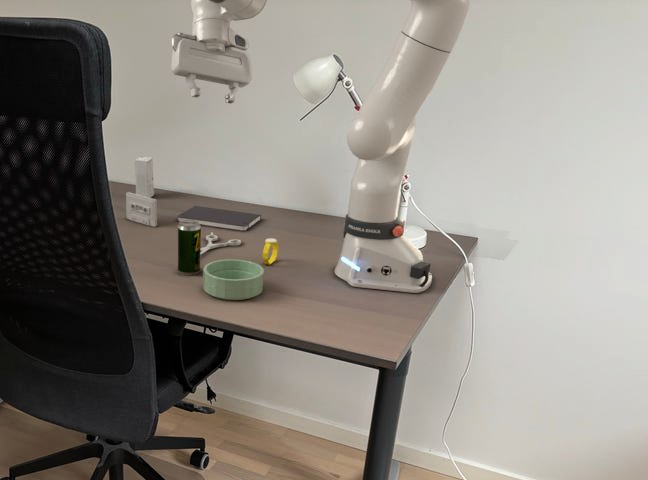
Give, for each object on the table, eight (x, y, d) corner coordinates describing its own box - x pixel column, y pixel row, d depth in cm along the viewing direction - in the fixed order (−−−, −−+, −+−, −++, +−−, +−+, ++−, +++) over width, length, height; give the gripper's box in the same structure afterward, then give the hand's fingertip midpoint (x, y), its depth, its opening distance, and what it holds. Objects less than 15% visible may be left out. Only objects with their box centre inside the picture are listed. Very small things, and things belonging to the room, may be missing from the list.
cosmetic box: (148, 199, 235) (147, 161, 229) (135, 198, 236) (134, 160, 230) (154, 194, 240) (153, 157, 234) (141, 193, 241) (140, 156, 235)
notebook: (260, 219, 216) (194, 210, 224) (261, 214, 216) (194, 205, 223) (245, 231, 206) (176, 221, 214) (245, 226, 205) (176, 216, 213)
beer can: (175, 275, 175) (176, 225, 170) (179, 267, 180) (180, 219, 174) (198, 276, 174) (199, 227, 169) (201, 268, 179) (202, 220, 174)
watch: (270, 258, 186) (271, 235, 184) (280, 260, 185) (281, 237, 182) (259, 265, 182) (260, 242, 179) (269, 267, 180) (271, 244, 178)
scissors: (245, 239, 197) (206, 259, 182) (245, 241, 198) (206, 262, 183) (211, 232, 202) (170, 251, 187) (211, 234, 203) (170, 254, 188)
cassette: (158, 226, 210) (158, 199, 206) (153, 227, 209) (153, 200, 205) (129, 217, 217) (129, 191, 213) (125, 218, 216) (124, 192, 212)
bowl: (271, 285, 170) (272, 265, 167) (249, 306, 159) (250, 284, 157) (217, 276, 175) (218, 255, 173) (193, 295, 164) (193, 273, 162)
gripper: (179, 25, 163) (181, 88, 163) (254, 42, 173) (256, 101, 174) (165, 36, 168) (167, 97, 168) (239, 52, 179) (241, 109, 179)
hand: (213, 99), depth 171 cm, fingers open, 8 cm apart
